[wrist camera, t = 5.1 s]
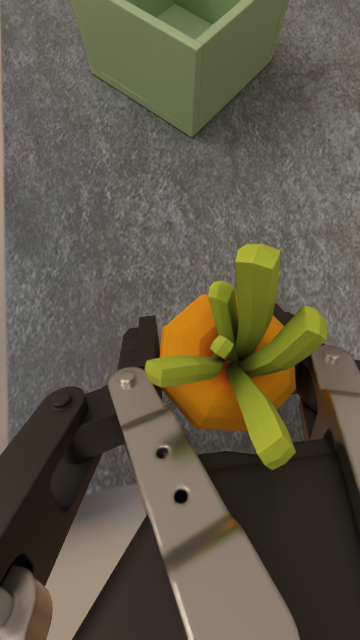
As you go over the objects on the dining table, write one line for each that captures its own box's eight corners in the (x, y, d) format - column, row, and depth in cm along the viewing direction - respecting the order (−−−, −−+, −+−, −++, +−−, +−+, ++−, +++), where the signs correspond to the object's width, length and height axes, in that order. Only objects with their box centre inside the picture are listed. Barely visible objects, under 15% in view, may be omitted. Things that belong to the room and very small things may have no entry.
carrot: (217, 424, 18) (391, 566, 4) (153, 392, 18) (71, 401, 4) (244, 359, 19) (455, 262, 5) (183, 330, 20) (203, 164, 5)
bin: (192, 138, 25) (196, 50, 19) (90, 72, 27) (62, -28, 21) (271, 60, 28) (300, -41, 21) (173, 6, 30) (172, -101, 23)
